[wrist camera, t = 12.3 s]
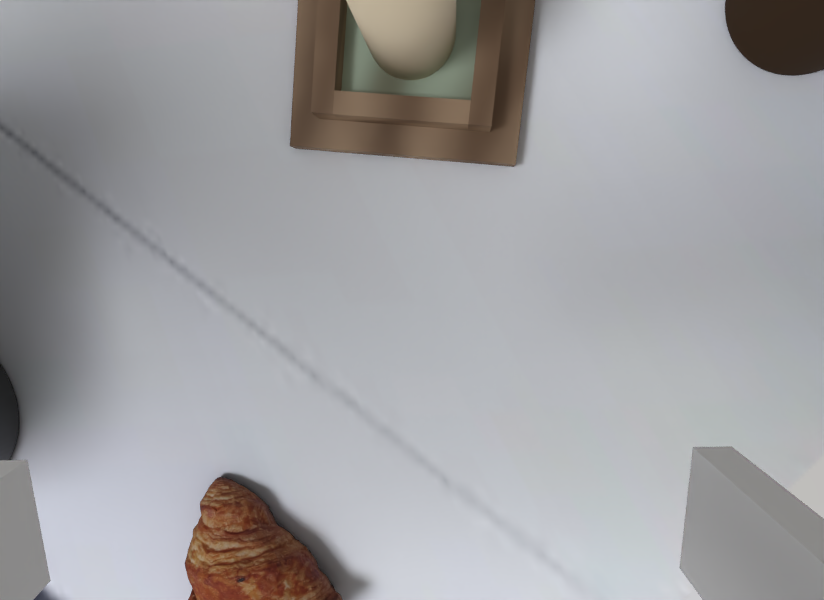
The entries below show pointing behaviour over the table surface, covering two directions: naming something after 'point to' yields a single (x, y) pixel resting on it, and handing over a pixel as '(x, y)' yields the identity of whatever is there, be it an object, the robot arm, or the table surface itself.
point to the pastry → (249, 552)
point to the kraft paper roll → (407, 34)
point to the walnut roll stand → (413, 88)
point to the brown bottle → (779, 34)
